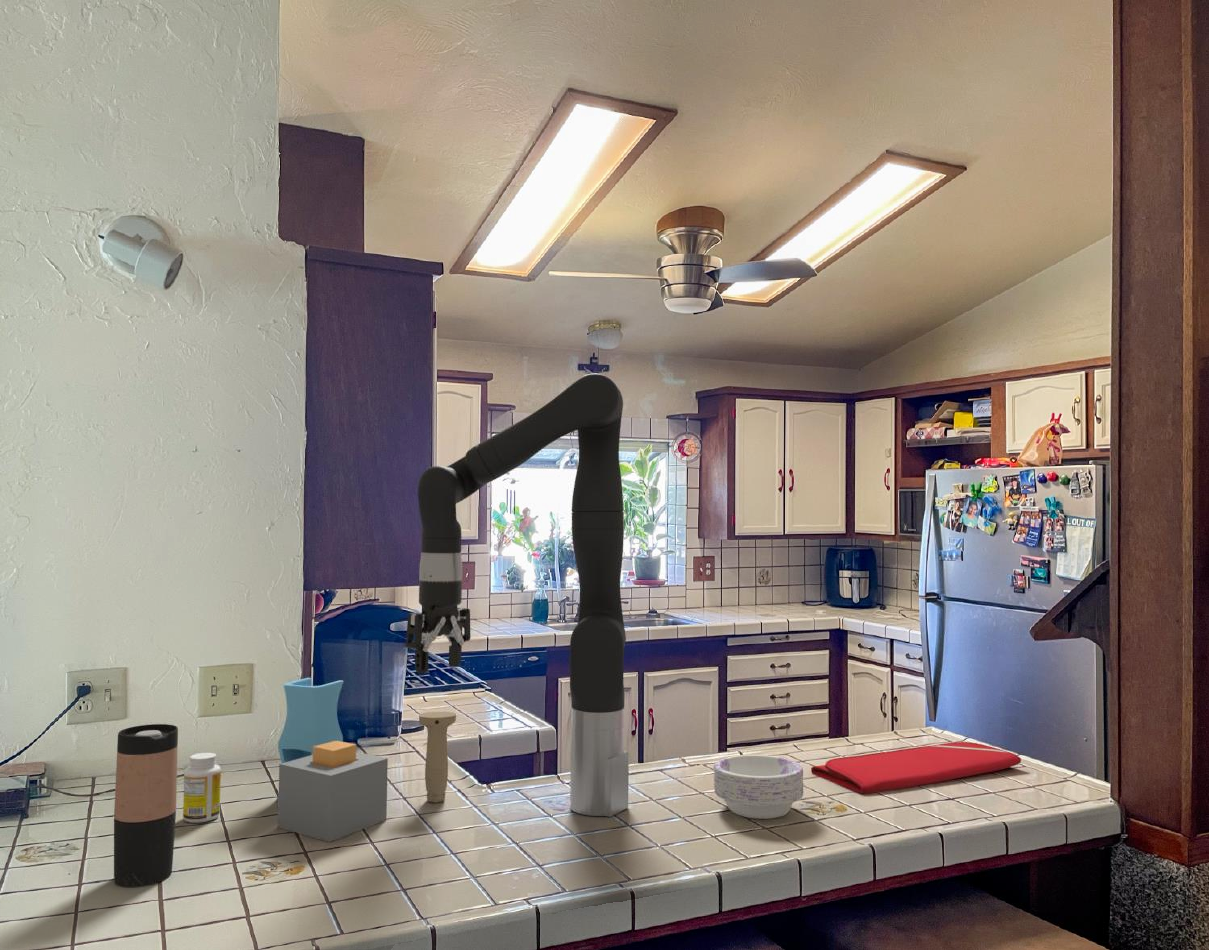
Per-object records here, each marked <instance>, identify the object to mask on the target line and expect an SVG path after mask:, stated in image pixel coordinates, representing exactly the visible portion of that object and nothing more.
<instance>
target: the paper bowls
mask: <svg viewBox="0 0 1209 950" xmlns="http://www.w3.org/2000/svg"><path fill="white" fill-rule="evenodd" d="M803 779H804V770H803V766H802V765H801V764H800V763H798V762H797V761H795V760H792V759H789V758H786V757H781V756H775V755H766V754H765V755H764V754H740V755H733V756H728V757H724V758H721V759H719V760H717V761H716V762H715V763H714V765H713V785H714V786H713V788H714V794H715V795H716V796H718V797H719V798H720V799H722V800H724V801H725V804H726V807H727V808H728V809H729V811H731V812H732V813H734V814H736V815H738V816H739V817H740V816H741V817H744V818H748V819H757V820H770V819H771V820H772V819H777V818H781V817H783V816H785V815H787V813H788V812H789V811H790V810H791V808H792V806H793V803H795V802H797V801H800V800H801V799H803V796H804V780H803Z"/></svg>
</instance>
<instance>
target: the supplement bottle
mask: <svg viewBox="0 0 1209 950" xmlns="http://www.w3.org/2000/svg"><path fill="white" fill-rule="evenodd" d="M221 768H222V767H221V765H218V764H217V754H216V753H213V752H200V753H199V752H198V753H195V754H192V755H191V756H190V757H189V767H187V768H186V769H185V770H184V774H183V806H182V807H183V808H182V809H183V811H182V812H183V813H182V817H183V818H182V819H183V820H184V821H185V822H187V823H191V824H199V823H200V824H201V823H205V822H211V821H213V820H215V819H217V818H218V817H219V816H220V814H221V777H222V771H221V770H222V769H221Z"/></svg>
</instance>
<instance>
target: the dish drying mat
mask: <svg viewBox="0 0 1209 950" xmlns="http://www.w3.org/2000/svg"><path fill="white" fill-rule="evenodd" d="M1021 762H1022V758H1021V757H1020V755H1019V756H1018V755H1017V754H1015V753H1013V752H1010V751H1006V750H1004V749H1000V748H996V747H994V746H989V745H986V744H982V743H977V742H969V741H956V742H955V741H954V742H947V743H940V744H934V745H932V744H931V745H926V746H925V745H924V746H917V747H910V748H902V749H896V750H890V751H884V752H875V753H867V754H866V753H865V754H861V755H855V756H854V755H852V756H845V757H836V758H832V759H829V760H827V761H826V762H825V764H822V765H813V766H812V767H811V768H810V769H811V770H810V772H811V774H812V775H814V776H817V777H820V778H822V779H824V780H827V781H829V782H831V783H834V784H835V785H836V784H837V785H839V786H840V787H843V788H846V789H847V790H850V791H852V792H855V793H857V794H859V795H865V794H872V793H878V792H887V791H892V790H900V789H905V788H910V787H917V786H922V785H923V786H924V785H929V784H935V783H941V782H946V781H951V780H955V779H959V778H965V777H966V778H967V777H970V776H976V775H982V774H986V773H993V772H997V771H1001V770H1005V769H1008V768H1012V767H1015V766H1017V765H1019V764H1020V763H1021Z"/></svg>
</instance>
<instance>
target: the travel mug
mask: <svg viewBox="0 0 1209 950" xmlns="http://www.w3.org/2000/svg"><path fill="white" fill-rule="evenodd" d="M178 731H179V729H178V726H176V725H173V724H168V723H167V724H166V723H165V724H164V723H154V724H153V723H152V724H143V725H137V726H130V727H127V728H124V729H121V730H120V731H118V733H117V742H116V743H117V746H116V747H117V748H116V750H117V751H116V765H115V766H116V769H115V789H114V812H113V813H114V814H113V818H114V819H113V881H114V883H115V885H117V886H119V887H123V888H139V887H146V886H151V885H154V884H158V883H160V882H162V881H165V880H166V879H167V878H170V877H171V875H172V873H173V863H174V848H175V846H174V845H175V833H176V831H175V830H176V818H177V791H178V790H177V789H178V788H177V787H178V786H177V785H178V743H179V742H178V741H179V739H178V737H179V732H178Z"/></svg>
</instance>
